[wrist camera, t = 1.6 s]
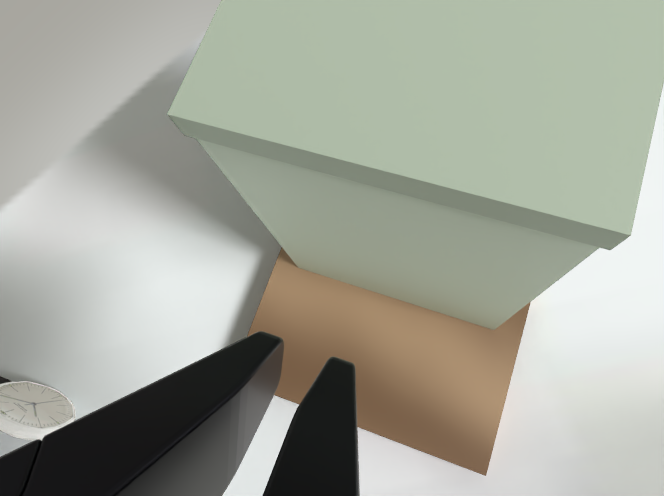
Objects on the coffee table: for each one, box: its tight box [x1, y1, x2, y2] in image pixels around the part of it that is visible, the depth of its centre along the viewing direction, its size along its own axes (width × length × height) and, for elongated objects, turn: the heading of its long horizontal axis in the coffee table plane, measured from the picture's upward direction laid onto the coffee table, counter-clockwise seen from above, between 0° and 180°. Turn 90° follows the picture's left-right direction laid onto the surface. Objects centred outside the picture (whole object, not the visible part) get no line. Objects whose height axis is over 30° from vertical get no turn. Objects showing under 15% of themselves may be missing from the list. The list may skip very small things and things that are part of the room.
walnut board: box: [247, 248, 530, 476], centre depth 21 cm, size 14×10×1 cm
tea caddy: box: [167, 0, 664, 330], centre depth 15 cm, size 8×8×12 cm
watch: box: [0, 377, 75, 441], centre depth 20 cm, size 8×5×4 cm, turn 59°
